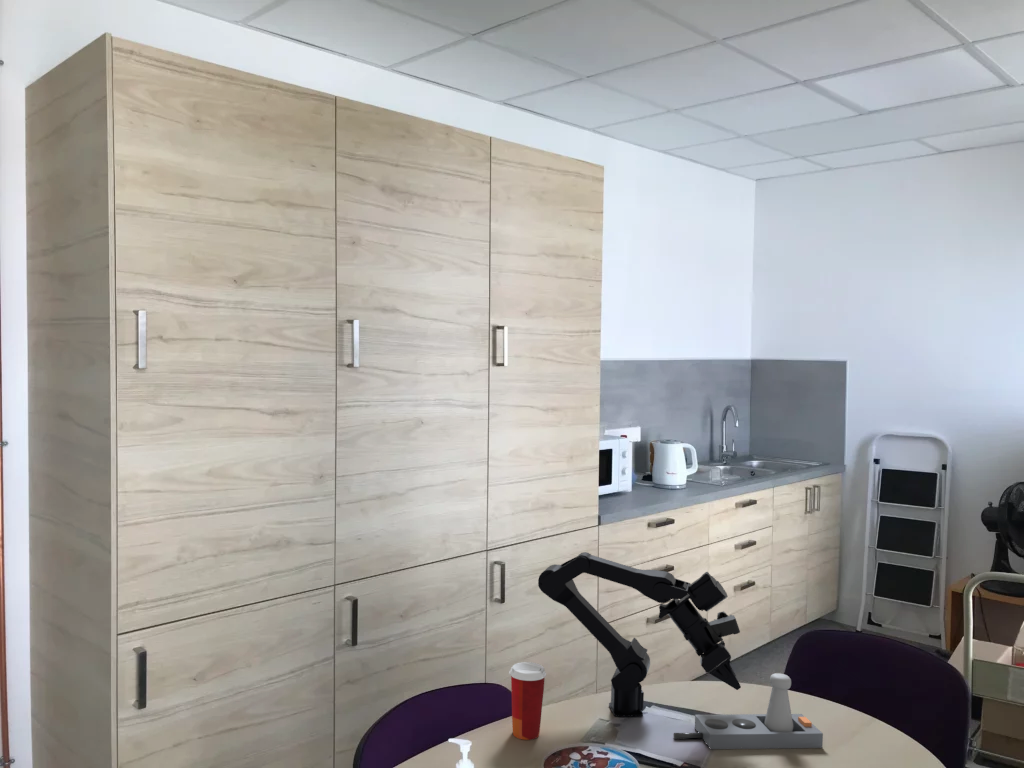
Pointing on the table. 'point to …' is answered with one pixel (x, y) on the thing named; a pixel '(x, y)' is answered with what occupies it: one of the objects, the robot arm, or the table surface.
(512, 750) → the table surface
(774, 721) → the salt shaker
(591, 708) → the table surface
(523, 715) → the paper cup
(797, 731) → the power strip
